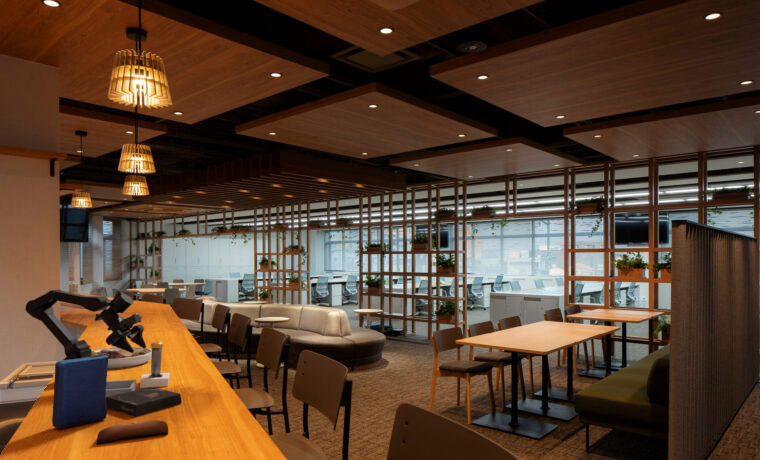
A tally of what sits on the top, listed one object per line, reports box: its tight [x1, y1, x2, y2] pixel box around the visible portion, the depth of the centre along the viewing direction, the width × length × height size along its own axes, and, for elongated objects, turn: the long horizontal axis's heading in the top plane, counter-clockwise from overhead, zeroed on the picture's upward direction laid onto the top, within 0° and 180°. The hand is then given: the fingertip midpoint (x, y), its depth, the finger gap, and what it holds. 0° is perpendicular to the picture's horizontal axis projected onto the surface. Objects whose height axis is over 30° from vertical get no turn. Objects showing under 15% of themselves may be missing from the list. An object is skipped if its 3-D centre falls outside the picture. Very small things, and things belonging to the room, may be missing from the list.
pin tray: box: [105, 379, 137, 400], centre depth 180 cm, size 14×14×4 cm
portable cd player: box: [106, 387, 183, 418], centre depth 168 cm, size 16×17×4 cm
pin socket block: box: [139, 372, 171, 389], centre depth 197 cm, size 10×10×3 cm
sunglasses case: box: [96, 419, 169, 445], centre depth 140 cm, size 18×7×7 cm, turn 120°
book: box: [51, 354, 108, 430], centre depth 149 cm, size 14×5×20 cm, turn 141°
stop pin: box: [150, 341, 164, 378], centre depth 197 cm, size 4×4×16 cm
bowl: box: [90, 346, 152, 370], centre depth 233 cm, size 30×30×8 cm
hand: (139, 349), depth 198 cm, fingers open, 9 cm apart
